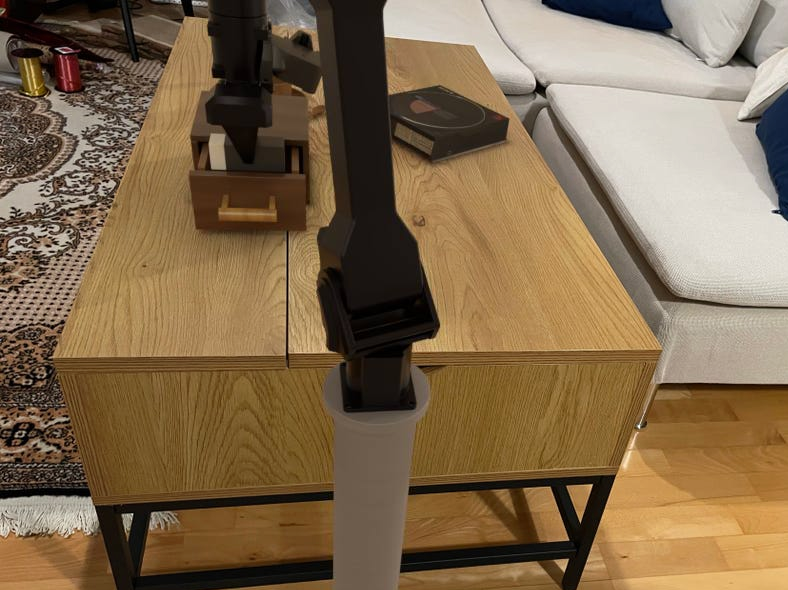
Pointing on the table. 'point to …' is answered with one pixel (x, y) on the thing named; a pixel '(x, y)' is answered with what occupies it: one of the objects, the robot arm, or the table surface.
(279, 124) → the cabinet
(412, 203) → the table surface
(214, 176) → the drawer
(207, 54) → the table surface
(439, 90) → the portable cd player
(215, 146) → the black rubber eraser
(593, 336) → the table surface
